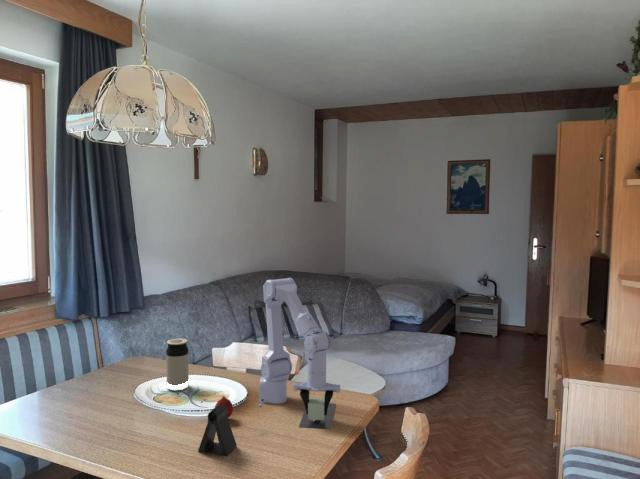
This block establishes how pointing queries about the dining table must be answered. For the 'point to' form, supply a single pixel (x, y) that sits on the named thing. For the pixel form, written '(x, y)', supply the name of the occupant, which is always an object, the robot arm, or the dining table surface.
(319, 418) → the sage green cube
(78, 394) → the dining table surface
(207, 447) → the phone stand
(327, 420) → the base plate
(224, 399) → the onion
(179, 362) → the travel mug
